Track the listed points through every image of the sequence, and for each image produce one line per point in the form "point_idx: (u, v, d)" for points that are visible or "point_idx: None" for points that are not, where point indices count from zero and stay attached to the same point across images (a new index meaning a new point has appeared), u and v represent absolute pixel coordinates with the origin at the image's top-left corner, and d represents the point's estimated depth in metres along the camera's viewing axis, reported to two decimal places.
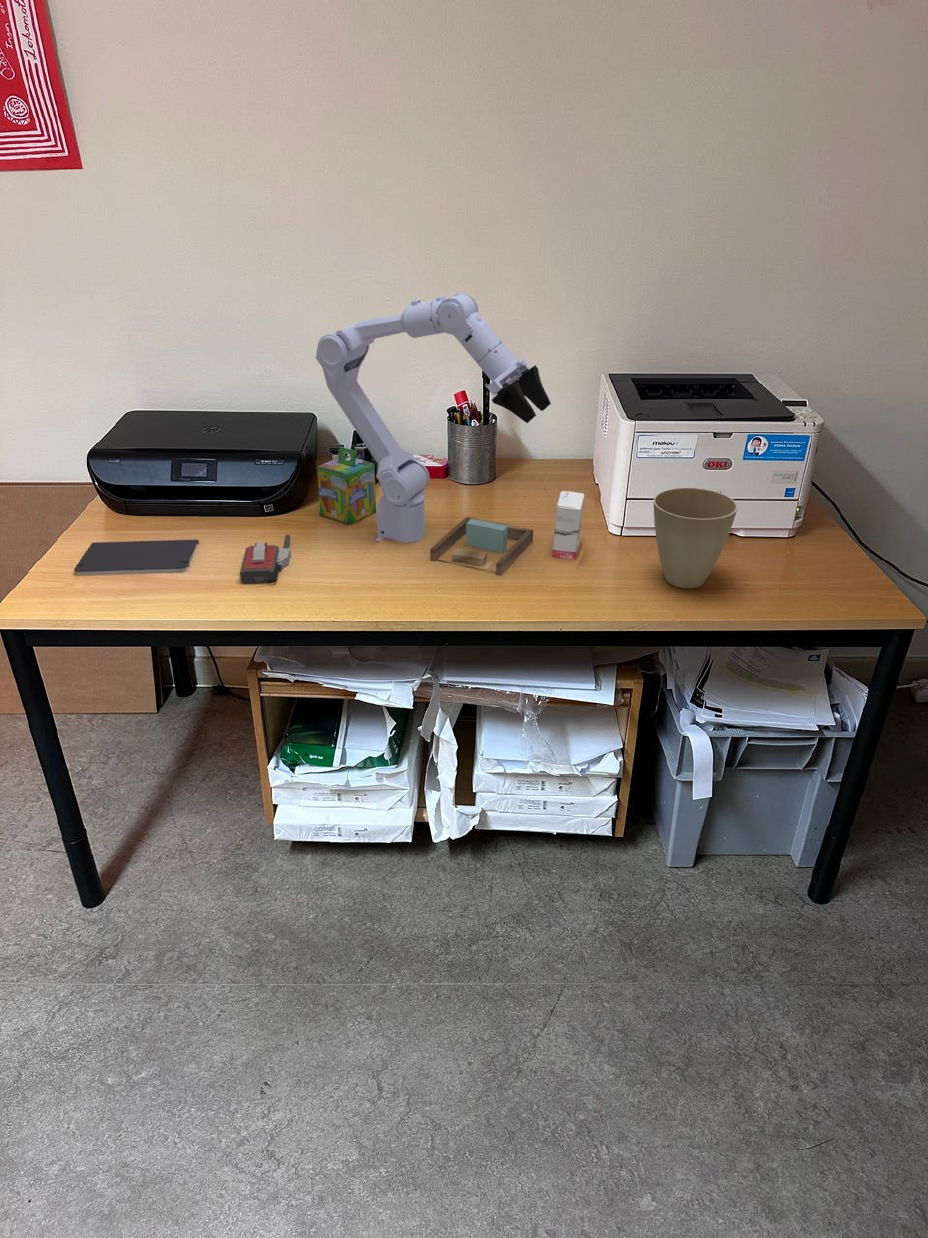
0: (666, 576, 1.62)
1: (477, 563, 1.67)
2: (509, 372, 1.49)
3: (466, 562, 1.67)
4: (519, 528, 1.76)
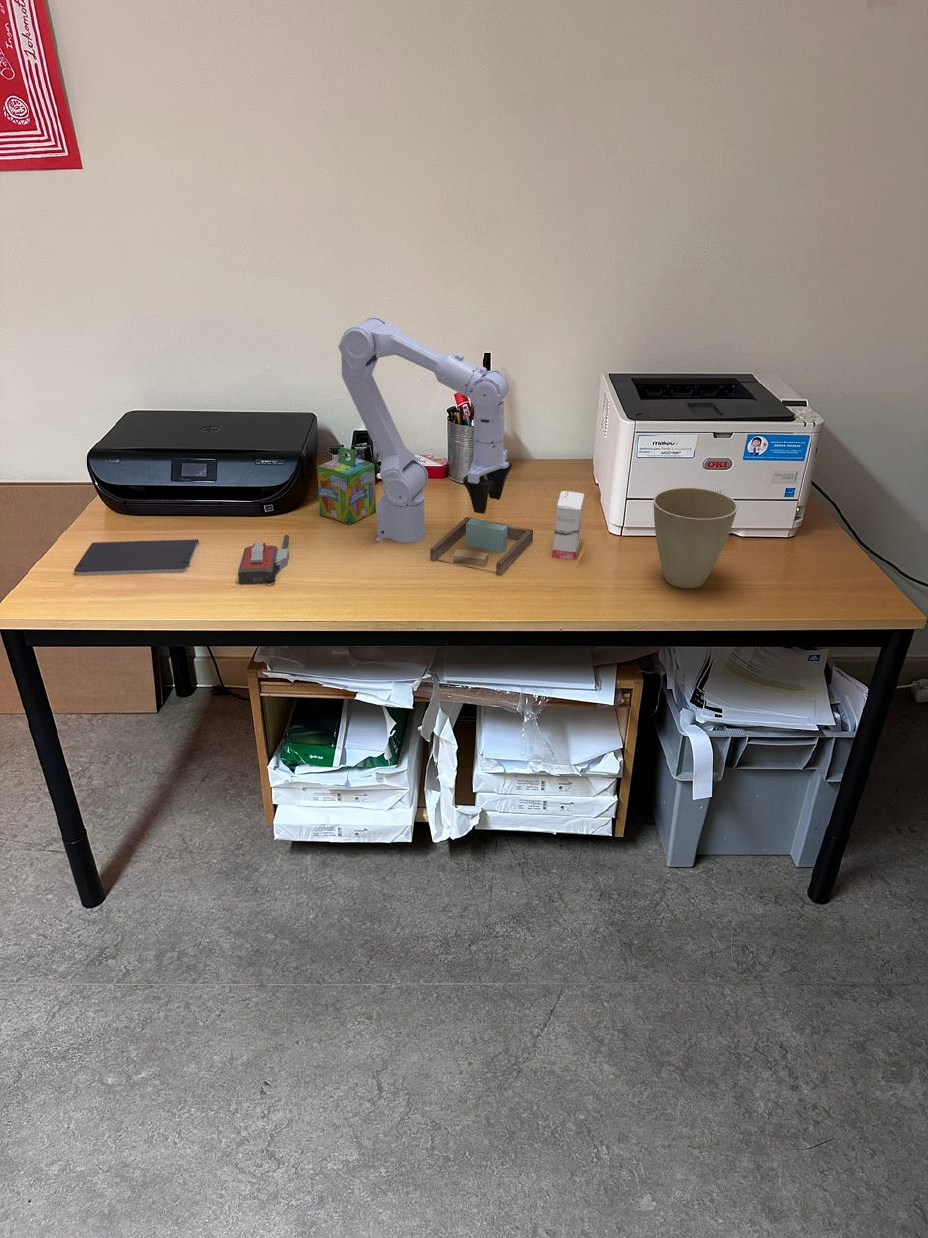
0: (666, 576, 1.62)
1: (479, 564, 1.67)
2: (491, 470, 1.62)
3: (468, 562, 1.67)
4: (519, 528, 1.76)
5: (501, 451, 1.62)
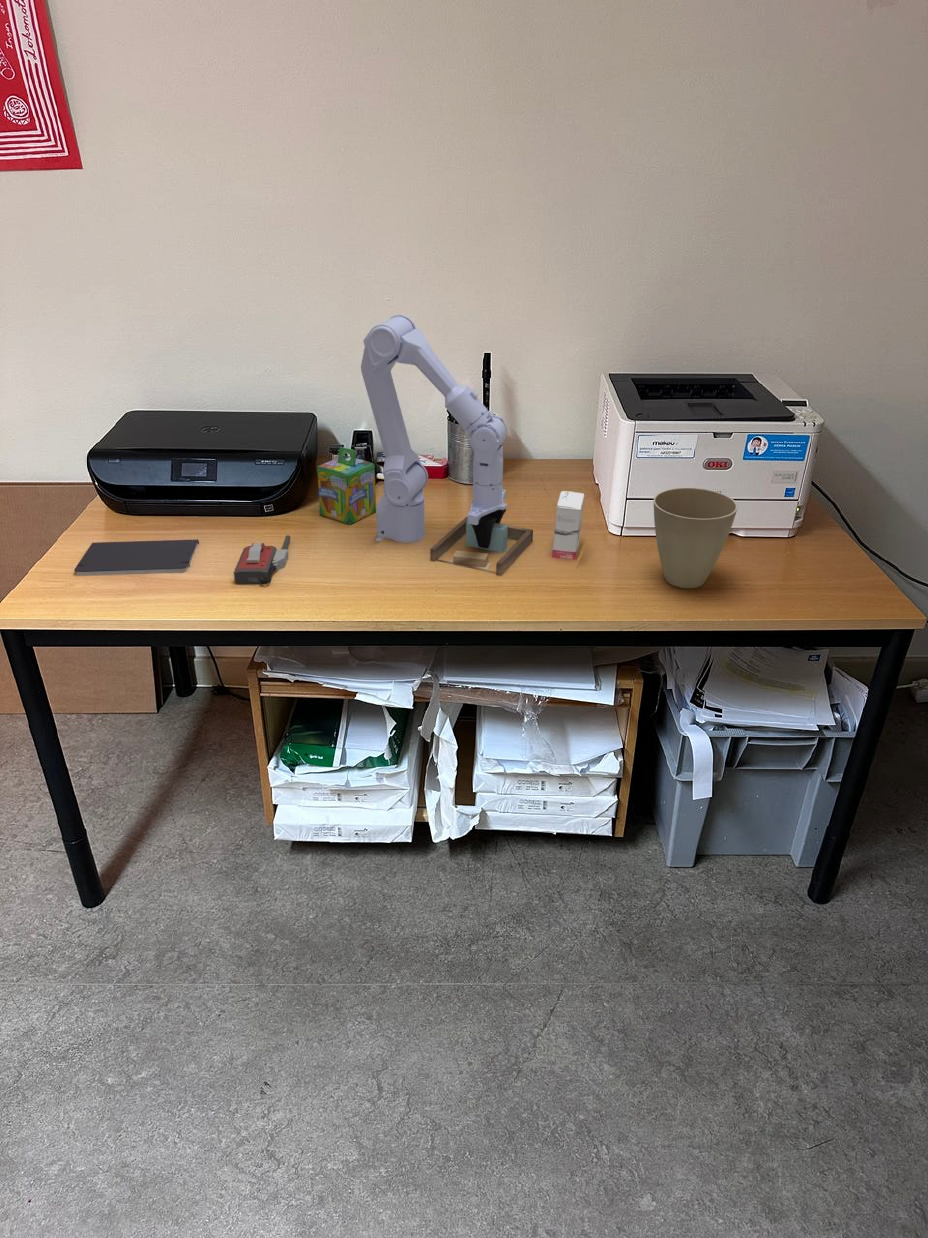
0: (666, 576, 1.62)
1: (479, 564, 1.66)
2: (490, 512, 1.66)
3: (468, 563, 1.67)
4: (519, 528, 1.76)
5: (500, 493, 1.67)
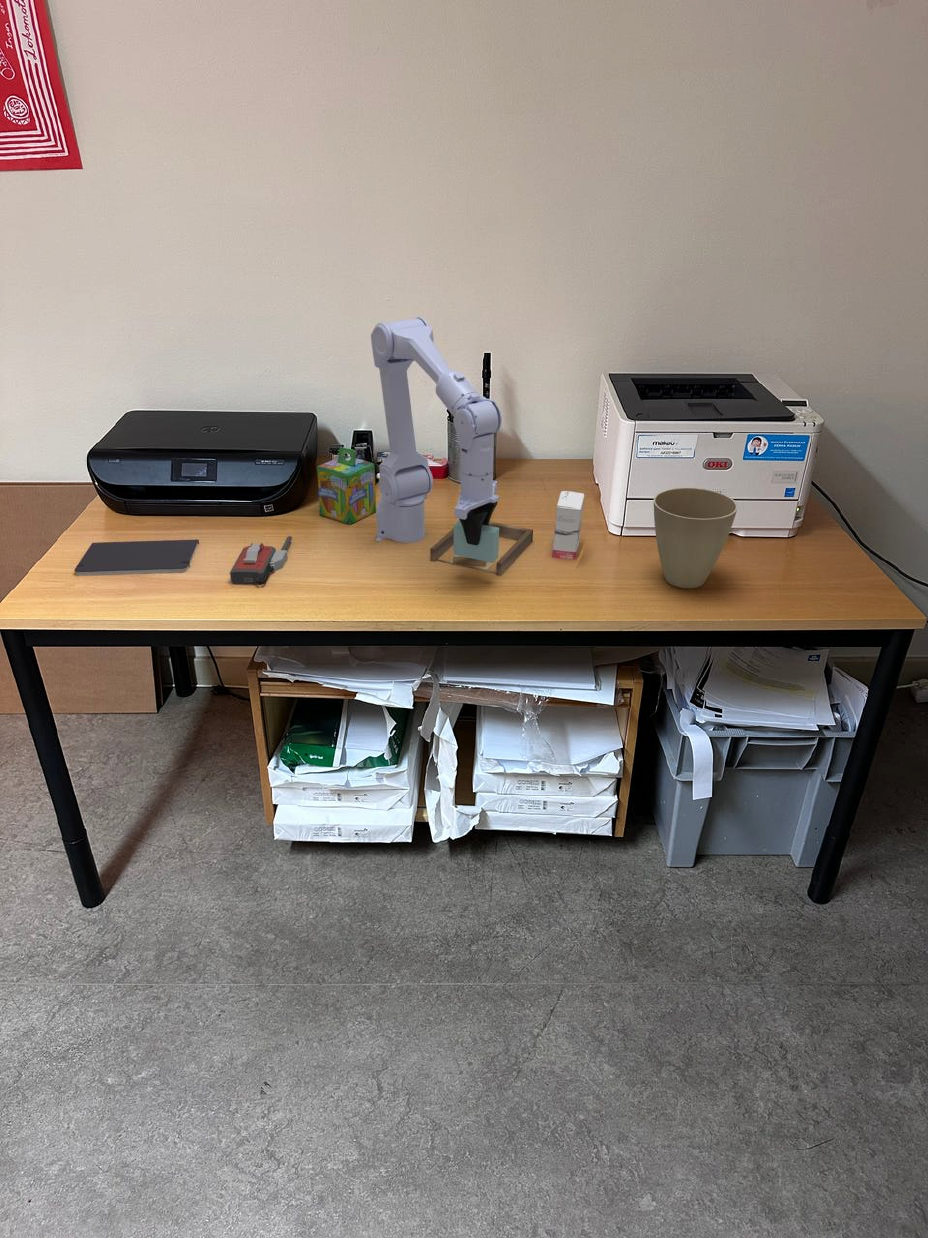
0: (666, 576, 1.62)
1: (479, 564, 1.66)
2: (480, 505, 1.50)
3: (468, 563, 1.67)
4: (519, 528, 1.76)
5: (490, 484, 1.51)
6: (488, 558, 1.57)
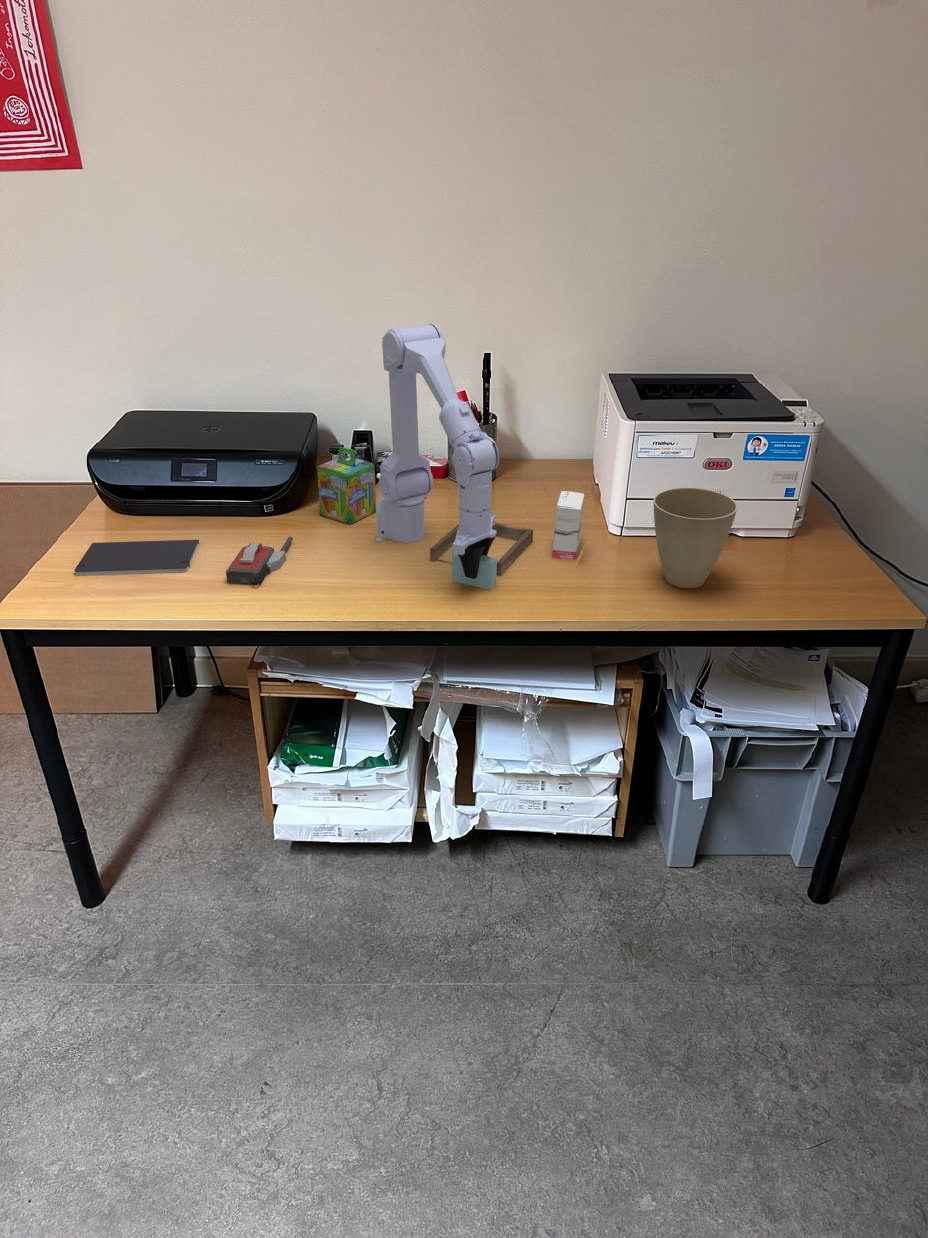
0: (666, 576, 1.62)
1: None
2: (478, 540, 1.52)
3: None
4: (519, 528, 1.76)
5: (488, 519, 1.53)
6: (486, 588, 1.59)
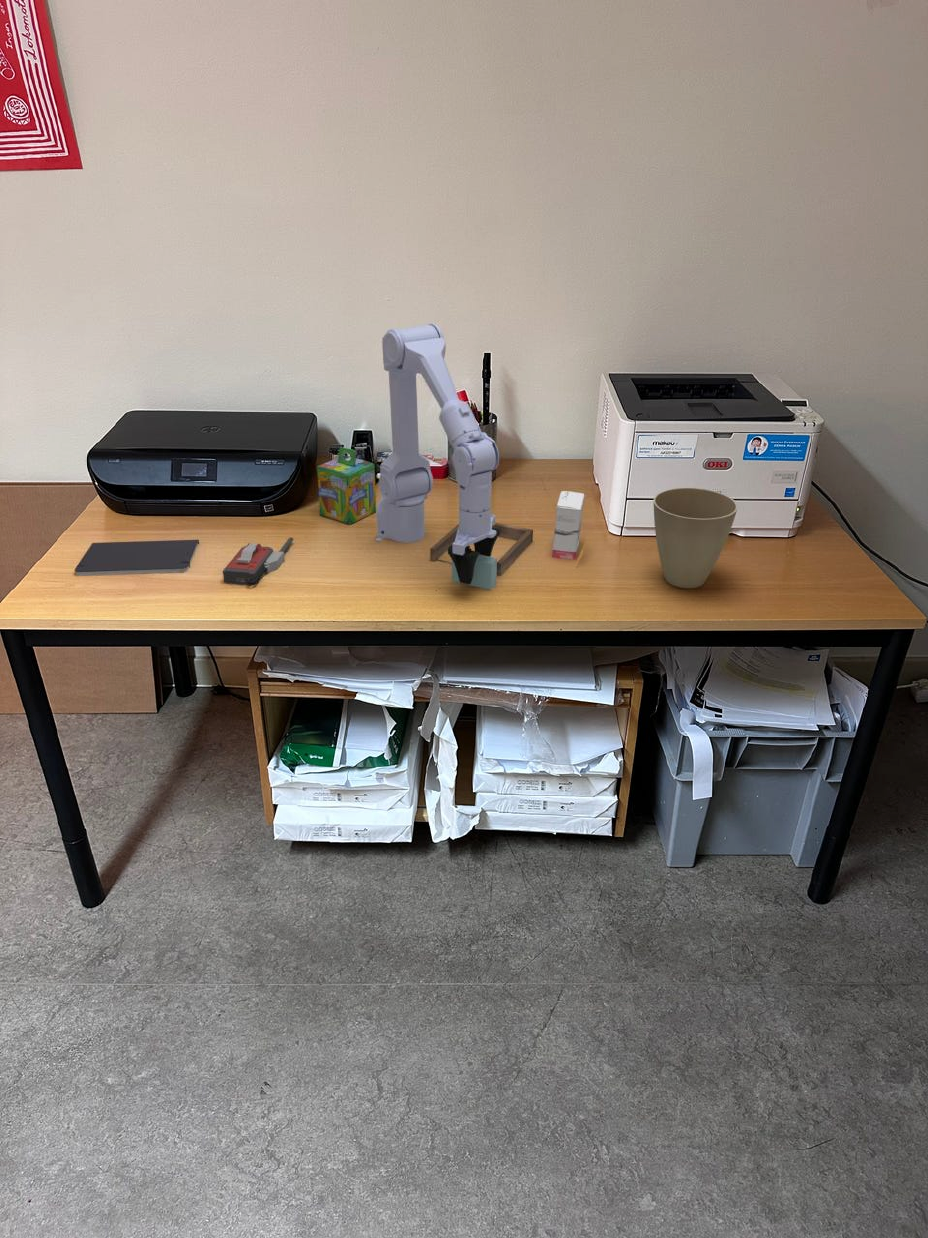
0: (666, 576, 1.62)
1: None
2: (478, 540, 1.52)
3: None
4: (519, 528, 1.76)
5: (488, 520, 1.53)
6: (486, 588, 1.59)
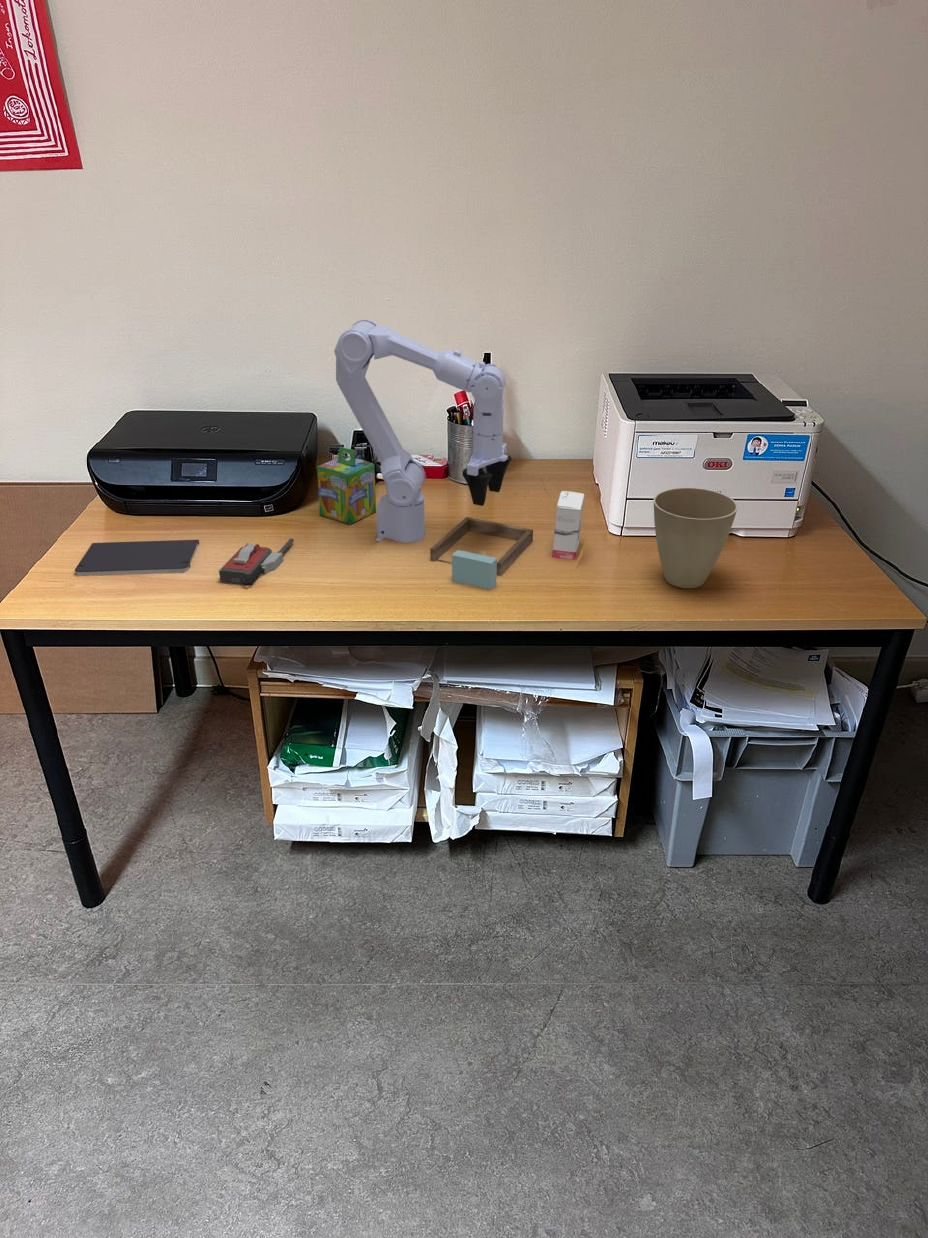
0: (666, 576, 1.62)
1: None
2: (490, 463, 1.64)
3: None
4: (519, 528, 1.76)
5: (500, 444, 1.65)
6: (486, 588, 1.59)
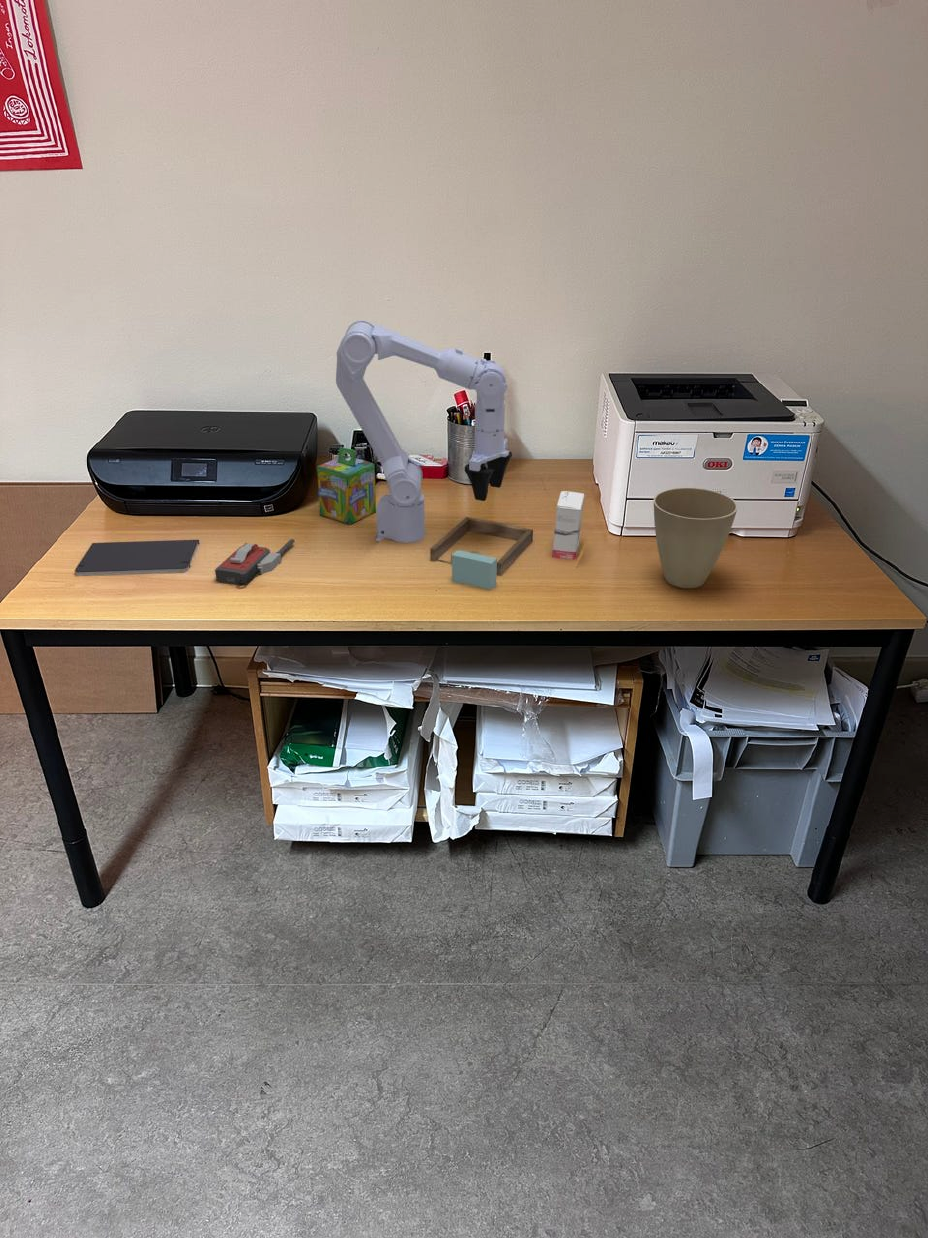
0: (666, 576, 1.62)
1: None
2: (492, 458, 1.66)
3: None
4: (519, 528, 1.76)
5: (501, 440, 1.67)
6: (486, 588, 1.59)
